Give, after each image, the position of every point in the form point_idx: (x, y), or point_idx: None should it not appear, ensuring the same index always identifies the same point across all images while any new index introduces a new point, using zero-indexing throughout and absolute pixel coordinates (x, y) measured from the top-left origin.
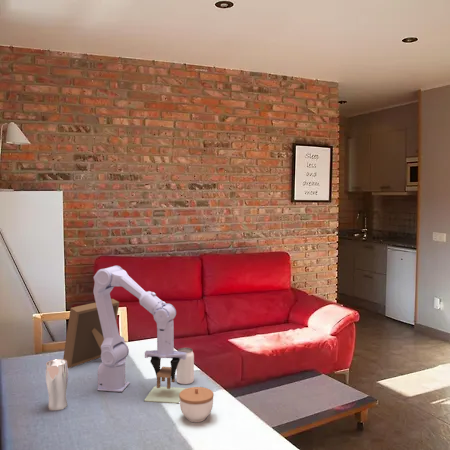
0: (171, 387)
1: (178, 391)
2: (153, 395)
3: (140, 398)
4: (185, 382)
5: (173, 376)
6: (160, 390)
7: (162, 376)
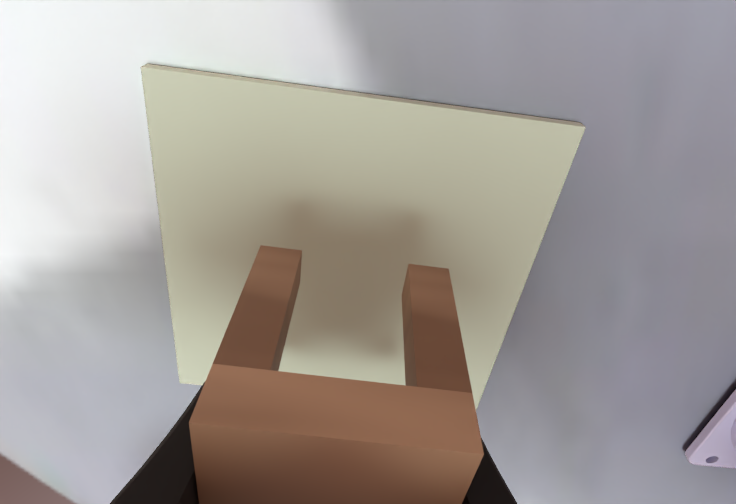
0: None
1: None
2: (474, 245)
3: (614, 199)
4: None
5: (179, 419)
6: None
7: (362, 393)
